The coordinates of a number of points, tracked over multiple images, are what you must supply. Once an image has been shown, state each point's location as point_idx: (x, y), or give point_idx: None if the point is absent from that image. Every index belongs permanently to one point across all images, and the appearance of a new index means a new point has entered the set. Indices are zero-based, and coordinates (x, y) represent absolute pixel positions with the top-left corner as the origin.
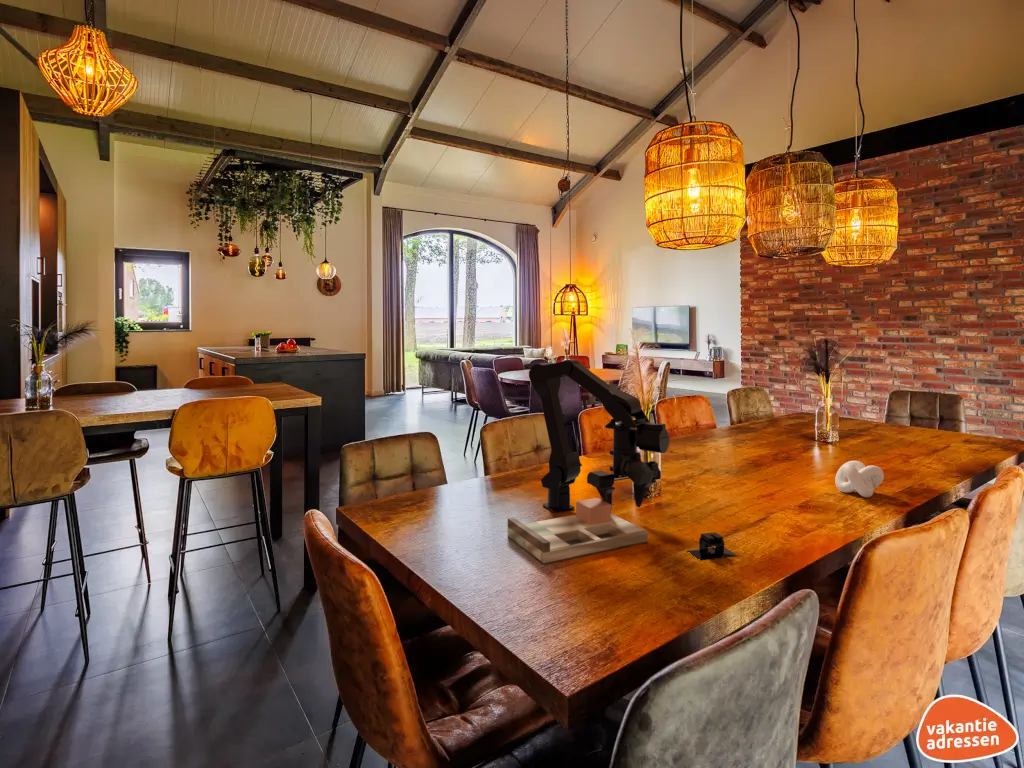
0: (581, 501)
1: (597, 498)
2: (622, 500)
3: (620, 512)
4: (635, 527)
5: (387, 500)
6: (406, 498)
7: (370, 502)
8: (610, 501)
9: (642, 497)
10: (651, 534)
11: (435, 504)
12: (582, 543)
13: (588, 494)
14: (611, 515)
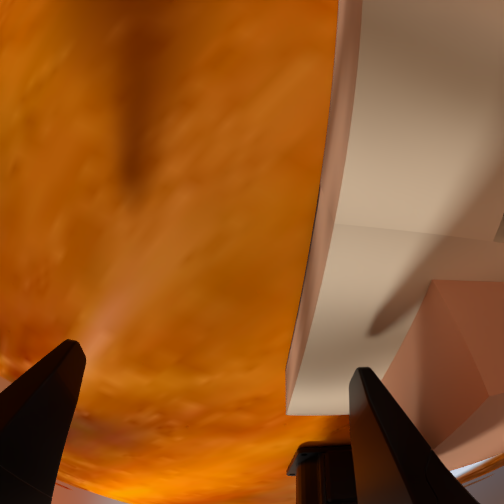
0: (500, 449)
1: None
2: (89, 419)
3: (147, 380)
4: (403, 26)
5: (485, 473)
6: (467, 479)
7: (499, 467)
8: (407, 447)
9: (21, 389)
10: (187, 27)
11: (472, 468)
12: None
13: (170, 468)
14: (330, 352)
